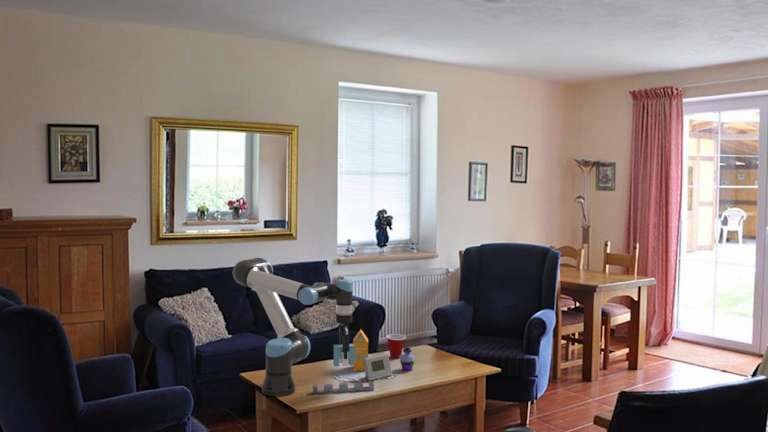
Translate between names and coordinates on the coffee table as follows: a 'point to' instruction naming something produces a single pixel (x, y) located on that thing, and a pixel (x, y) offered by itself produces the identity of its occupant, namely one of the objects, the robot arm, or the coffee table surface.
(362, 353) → the orange juice
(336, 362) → the block
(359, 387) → the rail
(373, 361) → the digital clock
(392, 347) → the plastic cup
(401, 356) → the potion bottle
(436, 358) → the coffee table surface
